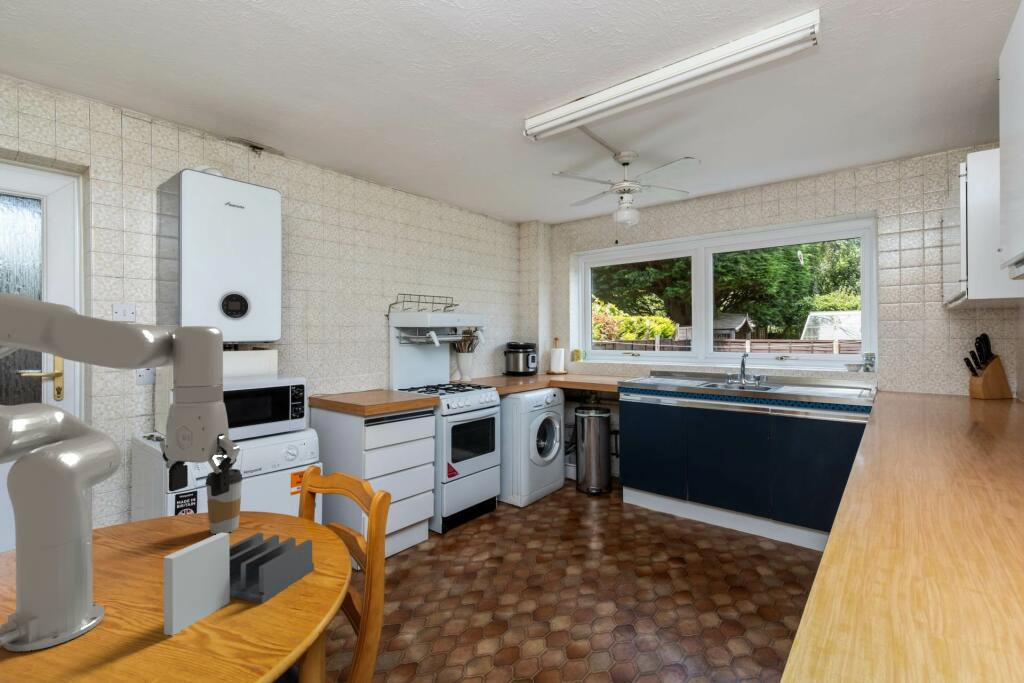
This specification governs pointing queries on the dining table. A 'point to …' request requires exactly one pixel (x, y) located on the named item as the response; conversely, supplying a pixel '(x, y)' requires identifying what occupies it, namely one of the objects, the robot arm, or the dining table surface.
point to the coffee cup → (225, 504)
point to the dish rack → (266, 566)
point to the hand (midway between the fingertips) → (199, 491)
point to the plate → (196, 582)
